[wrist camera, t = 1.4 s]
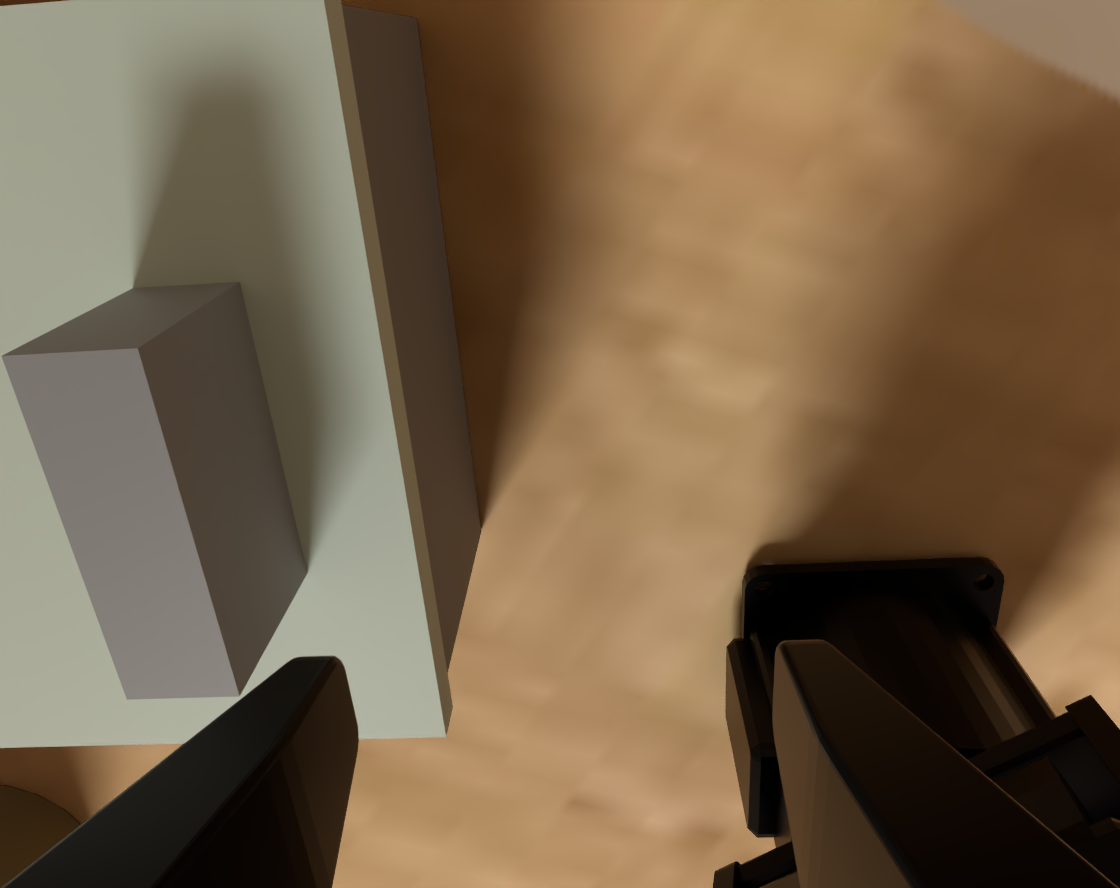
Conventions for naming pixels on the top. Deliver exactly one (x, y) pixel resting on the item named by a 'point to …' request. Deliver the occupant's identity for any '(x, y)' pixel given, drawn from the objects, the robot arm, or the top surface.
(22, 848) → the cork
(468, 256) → the top surface
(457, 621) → the tray
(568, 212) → the top surface
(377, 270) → the sliding box lid
